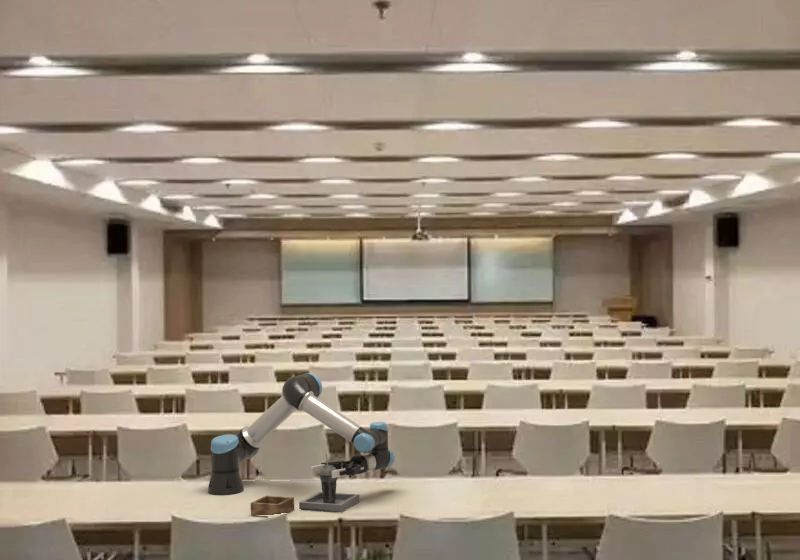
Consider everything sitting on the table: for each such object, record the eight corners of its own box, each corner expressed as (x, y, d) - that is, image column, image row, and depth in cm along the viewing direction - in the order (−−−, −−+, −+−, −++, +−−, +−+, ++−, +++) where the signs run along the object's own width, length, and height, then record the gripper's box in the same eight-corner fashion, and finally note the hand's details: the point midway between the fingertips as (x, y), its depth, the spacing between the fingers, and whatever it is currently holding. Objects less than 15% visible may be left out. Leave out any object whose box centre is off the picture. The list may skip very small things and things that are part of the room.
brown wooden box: (250, 515, 379) (250, 502, 379) (266, 508, 390) (266, 495, 390) (279, 518, 374) (279, 504, 374) (294, 510, 386) (293, 497, 386)
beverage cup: (342, 502, 393) (340, 452, 393) (331, 506, 386) (330, 455, 387) (327, 501, 396) (325, 451, 397) (316, 504, 390) (315, 454, 390)
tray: (299, 509, 386) (299, 502, 386) (319, 499, 403) (319, 491, 403) (340, 512, 380) (340, 505, 380) (359, 501, 396) (359, 494, 396)
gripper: (382, 476, 395) (342, 486, 380) (343, 468, 412) (303, 477, 397) (382, 458, 395) (341, 467, 380) (342, 451, 412) (302, 459, 397)
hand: (321, 472), depth 389 cm, fingers open, 12 cm apart
